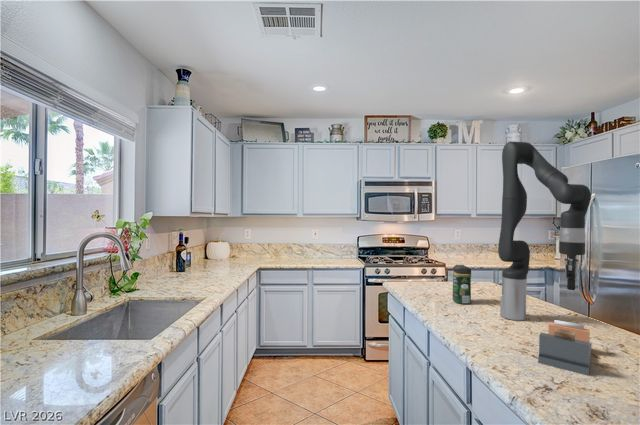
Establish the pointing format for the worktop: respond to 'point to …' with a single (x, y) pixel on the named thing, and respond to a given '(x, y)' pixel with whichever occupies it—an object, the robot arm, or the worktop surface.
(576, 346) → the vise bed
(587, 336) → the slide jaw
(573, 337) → the walnut block
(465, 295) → the coffee jar
